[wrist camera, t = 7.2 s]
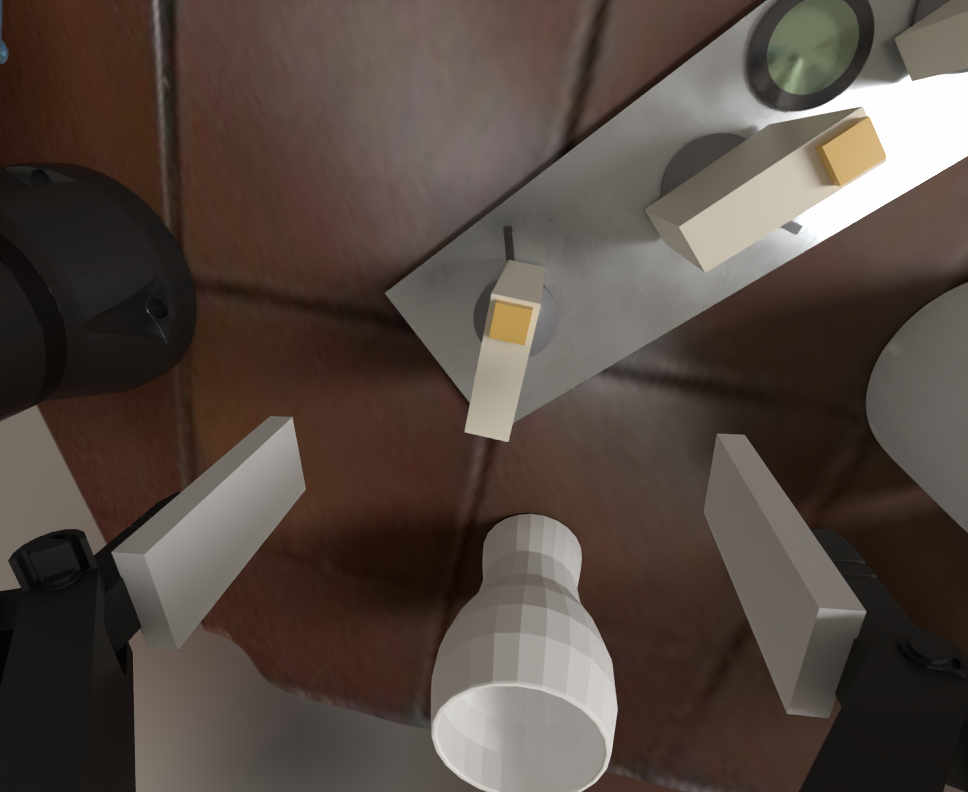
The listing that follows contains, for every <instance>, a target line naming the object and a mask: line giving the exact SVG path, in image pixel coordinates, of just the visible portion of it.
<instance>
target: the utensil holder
mask: <svg viewBox="0 0 968 792" xmlns="http://www.w3.org/2000/svg"><path fill="white" fill-rule="evenodd" d="M866 412H867V418H868V422H869V425H870V428H871V430H872V432H873V434H874V436H875V438H876V440H877V441H878V442H879V444H880V445H881V447H882V448H883V449H884V450H885V451H886V452H887V454H888V455H889V456H890V457H891V458H892V459H893V460H894V461H895V462H896V463H897V464H898V465H899V466H900V467H901V468H902V469H903V470H904V471H905V472H906V473H907V474H908V475H909V476H910V477H911V478H912V479H913V480H914V481H915V482H916V483H917V484H918V485H919V486H920V487H921V488H922V489H923V490H924V491H925V492H926V493H927V494H928V495H929V496H930V497H931V498H932V499H933V500H934V501H935V502H936V503H937V504H938V505H939V506H940V507H941V508H942V509H943V510H944V511H945V512H946V513H947V514H948V515H949V516H950V517H952V518H953V519H954V520H955V521H956V522H957V523H958V524H959V525H960V526H961V527H962V528H963V529H964V530H965V531H966V532H967V533H968V282H967V283H965V284H962V285H960V286H958V287H956V288H954V289H952V290H950V291H948V292H946V293H944V294H943V295H941V296H939V297H938V298H936V299H935V300H933V301H932V302H930V303H928V304H927V305H926V306H924V307H923V308H922V309H920V310H919V311H918V312H917V313H916V314H914V315H913V316H912V317H911V318H910V319H909V320H908V321H907V322H906V323H905V324H904V325H903V326H902V327H901V328H900V329H899V330H898V331H897V333H896V334H895V335H894V336H893V337H892V339H891V340H890V341H889V343H888V344H887V345H886V347H885V348H884V349H883V351H882V353H881V354H880V356H879V358H878V360H877V362H876V364H875V366H874V369H873V371H872V373H871V377H870V380H869V384H868V389H867V394H866Z"/></svg>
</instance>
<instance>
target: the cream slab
mask: <svg viewBox="0 0 968 792" xmlns="http://www.w3.org/2000/svg"><path fill="white" fill-rule="evenodd" d="M894 39H895V41H896V44H897V46H898V49H899V51H900V54H901V56H902V59H903V61H904V63H905V66H906V68H907V71H908V73H909V76H910V78H911V81H912V82H913V81H917V80H921V79H926V78H930V77H934V76H938V75H942V74H947V73H951V74H961V73H968V0H920V1H919V4H918V7H917V10H916V14H915V19H914V25H913V26H912V27H910V28H909V29H907V30H906V31H905V32H903V33H902V34H900V35H899V36H897V37H896V38H894Z"/></svg>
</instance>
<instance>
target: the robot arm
mask: <svg viewBox="0 0 968 792" xmlns="http://www.w3.org/2000/svg"><path fill="white" fill-rule="evenodd" d="M7 58H8V49H7V47H6V45H5V43H4V42H3V41H2V0H0V63H1V64H4V63H5V62H6V61H7ZM195 323H196V297H195V290H194V286H193V281H192V278H191V274H190V271H189V268H188V266H187V263H186V261H185V258H184V256H183V254H182V252H181V250H180V248H179V246H178V244H177V243H176V241H175V239H174V238H173V236H172V235H171V233H170V231H169V230H168V229H167V227H166V226H165V225H164V223H163V222H162V221H161V220H160V218H159V217H158V216H157V215H156V214H155V213H154V211H153V210H152V209H151V208H150V207H149V206H148V205H147V204H146V203H145V202H144V201H142V200H141V199H140V198H139V197H138V196H137V195H135V194H134V193H133V192H132V191H130V190H129V189H128V188H126V187H125V186H123V185H122V184H120V183H119V182H117V181H115V180H113V179H112V178H110V177H108V176H106V175H104V174H102V173H99V172H97V171H95V170H92V169H89V168H86V167H82V166H78V165H72V164H64V163H24V164H16V165H11V166H6V167H3V168H0V421H2V420H5V419H7V418H9V417H11V416H13V415H16V414H17V413H19V412H21V411H24V410H26V409H28V408H30V407H32V406H35V405H37V404H39V403H42V402H44V401H50V400H58V399H67V398H75V397H84V396H93V395H101V394H110V393H118V392H123V391H127V390H130V389H133V388H136V387H139V386H141V385H143V384H145V383H147V382H149V381H151V380H153V379H155V378H157V377H159V376H160V375H162V374H164V373H166V372H167V371H169V370H170V369H171V368H173V367H174V366H175V365H176V364H177V363H178V362H179V361H180V359H181V358H182V357H183V355H184V354H185V352H186V351H187V349H188V347H189V345H190V342H191V340H192V337H193V333H194V329H195ZM305 490H306V487H305V482H304V477H303V471H302V466H301V461H300V455H299V450H298V445H297V439H296V434H295V429H294V424H293V418H292V417H274V416H270V417H269V418H268V419H267V420H265V421H264V422H263V423H262V424H261V425H260V426H258V427H257V428H256V429H255V430H254V431H252V432H251V433H250V434H249V435H248V436H247V437H245V438H244V439H243V440H242V441H241V442H240V443H238V444H237V445H236V446H235V447H234V448H233V449H231V450H230V451H229V452H228V453H227V454H226V455H224V456H223V457H222V458H221V459H220V460H219V461H217V462H216V463H215V464H214V465H213V466H212V467H210V468H209V469H208V470H207V471H206V472H204V473H203V474H202V475H201V476H200V477H199V478H197V479H196V480H195V481H194V482H193V483H192V484H190V485H189V486H188V487H187V488H186V489H185V490H183V491H182V492H177V493H175V494H173V495H171V496H169V497H167V498H165V499H163V500H161V501H160V502H158V503H157V504H155V505H154V506H153V507H152V508H151V509H149V510H148V511H147V512H146V513H145V514H143V517H140V518H139V519H137V520H136V521H135V522H134V523H133V524H131V527H128V528H126V529H125V530H124V531H123V532H122V533H120V534H119V535H118V536H117V537H116V538H114V539H113V540H112V541H111V542H110V543H108V544H107V545H106V546H105V547H104V548H102V550H100V551H99V552H98V553H97V554H95V555H93V553H92V550H91V548H90V546H89V543H88V541H87V538H86V536H85V533H84V532H83V531H80V530H77V529H65V530H60V531H56V532H51V533H49V534H46V535H43V536H40V537H38V538H35V539H34V540H32V541H30V542H28V543H26V544H24V545H23V546H21V547H20V548H19V549H18V550H16V551H15V552H14V553H13V554H12V556H11V557H10V559H9V560H8V561H9V564H10V565H11V568H12V570H13V572H14V574H15V576H16V578H17V580H18V582H19V584H20V586H21V588H18V589H12V590H5V591H0V792H136V786H135V739H134V694H133V653H132V650H131V647H130V645H129V642H128V641H129V640H130V639H131V638H132V637H133V635H134V634H135V633H136V632H137V631H138V630H139V629H140V628H141V631H142V633H143V635H144V638H145V641H146V643H147V646H148V647H152V648H162V649H172V650H179V648H180V647H181V646H182V645H183V643H184V642H185V641H186V639H187V638H188V637H189V636H190V634H191V633H192V632H193V631H194V629H195V628H196V627H197V626H198V624H199V623H200V622H201V621H202V619H203V618H204V617H205V616H206V614H207V613H208V612H209V611H210V609H211V608H212V607H213V605H214V604H215V603H216V602H217V600H218V599H219V598H220V597H221V595H222V594H223V593H224V592H225V590H226V589H227V588H228V587H229V585H230V584H231V583H232V582H233V580H234V579H235V578H236V577H237V575H238V574H239V573H240V571H241V570H242V569H243V568H244V566H245V565H246V564H247V563H248V561H249V560H250V559H251V558H252V556H253V555H254V554H255V553H256V551H257V550H258V549H259V548H260V546H261V545H262V544H263V543H264V541H265V540H266V539H267V537H268V536H269V535H270V534H271V532H272V531H273V530H274V529H275V527H276V526H277V525H278V524H279V522H280V521H281V520H282V519H283V517H284V516H285V515H286V514H287V512H288V511H289V510H290V509H291V507H292V506H293V505H294V503H295V502H296V501H297V500H298V498H299V497H300V496H301V495H302V493H303V492H304V491H305ZM704 515H705V517H706V520H707V522H708V524H709V527H710V529H711V532H712V534H713V537H714V539H715V541H716V544H717V546H718V549H719V551H720V553H721V556H722V558H723V561H724V563H725V565H726V568H727V570H728V573H729V575H730V578H731V580H732V582H733V585H734V587H735V590H736V592H737V594H738V597H739V599H740V602H741V604H742V607H743V609H744V611H745V614H746V616H747V619H748V621H749V623H750V626H751V628H752V631H753V633H754V635H755V638H756V640H757V643H758V645H759V648H760V650H761V652H762V655H763V657H764V660H765V662H766V664H767V667H768V669H769V672H770V674H771V677H772V679H773V681H774V684H775V686H776V689H777V691H778V693H779V696H780V698H781V701H782V703H783V705H784V708H785V710H786V713H787V714H793V715H803V716H813V717H822V718H829V716H830V714H831V711H832V708H833V705H834V702H835V699H836V697H837V699H838V700H839V702H840V704H841V706H842V708H841V710H840V712H839V714H838V716H837V717H836V719H835V721H834V723H833V725H832V727H831V729H830V731H829V733H828V735H827V737H826V739H825V741H824V743H823V745H822V747H821V749H820V751H819V753H818V755H817V757H816V759H815V761H814V763H813V765H812V767H811V769H810V771H809V773H808V775H807V777H806V779H805V781H804V783H803V785H802V787H801V789H800V790H799V792H943V790H944V787H945V784H947V785H949V786H952V787H955V788H957V789H960V790H963V791H965V792H968V659H967V658H966V656H965V655H964V654H963V653H962V652H960V651H959V650H958V649H957V648H956V647H955V646H953V645H952V644H951V643H950V642H948V641H946V640H944V639H943V638H941V637H939V636H937V635H936V634H934V633H932V632H929V631H926V630H923V629H921V628H918V627H916V626H915V625H914V624H913V622H912V621H911V620H910V619H909V617H908V616H907V615H906V613H905V612H904V611H903V610H902V608H901V607H900V606H899V604H898V603H897V602H896V600H895V599H894V598H893V597H892V595H891V594H890V593H889V591H888V590H887V589H886V588H885V586H884V585H883V584H882V582H881V581H880V580H879V579H876V575H875V573H874V572H873V571H872V569H871V568H870V567H869V566H868V565H866V564H865V560H864V559H863V558H862V557H861V555H860V554H859V553H858V551H857V550H856V549H855V548H854V546H853V545H852V544H850V543H849V542H848V541H846V540H845V539H844V538H842V537H841V536H839V535H838V534H837V533H835V532H834V531H833V530H824V529H809V527H808V526H807V524H806V523H805V522H804V520H803V519H802V517H801V516H800V514H799V513H798V511H797V510H796V508H795V507H794V506H793V504H792V503H791V501H790V500H789V498H788V497H787V495H786V494H785V493H784V491H783V490H782V488H781V487H780V485H779V484H778V482H777V481H776V479H775V478H774V477H773V475H772V474H771V472H770V471H769V469H768V468H767V466H766V465H765V463H764V462H763V461H762V459H761V458H760V456H759V455H758V453H757V452H756V450H755V449H754V448H753V446H752V445H751V443H750V442H749V440H748V439H747V437H746V436H745V435H738V434H717V436H716V442H715V448H714V453H713V459H712V465H711V471H710V477H709V483H708V488H707V494H706V500H705V506H704Z"/></svg>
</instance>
